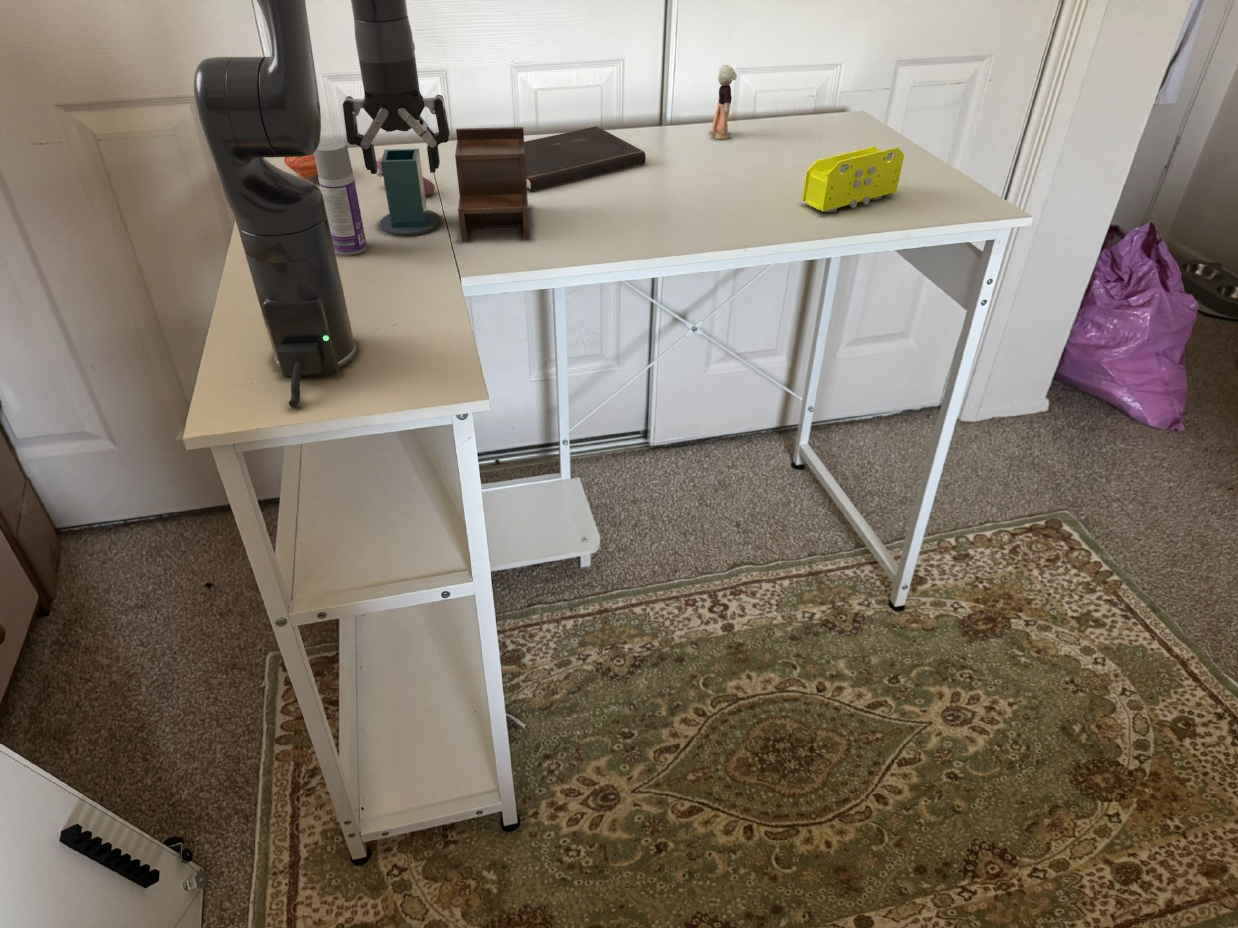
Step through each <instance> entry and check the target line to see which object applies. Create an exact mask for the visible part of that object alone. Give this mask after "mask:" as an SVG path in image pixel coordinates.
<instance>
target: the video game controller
mask: <svg viewBox="0 0 1238 928" xmlns="http://www.w3.org/2000/svg"><path fill="white" fill-rule="evenodd" d="M382 157H383V156H382ZM382 157H378V159H376V162H377V173H376V175H377V176H378V177H379V178H382V177H383V172H382V166H381V160H382ZM423 183H424V190H425V196H431V195H433V194H434V193H435V189H436V188H435V184H434V183H433V181H431V180H430V179H428V178H426V177H424V176H423Z"/></svg>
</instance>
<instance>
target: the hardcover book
mask: <svg viewBox="0 0 1238 928" xmlns="http://www.w3.org/2000/svg"><path fill="white" fill-rule="evenodd" d="M524 147H525V163H526V180H527V192H534V191H538V190H543V189H546V188H551V187H555V186H559V185H563V184H567V183H572V182H575V181H580V180H583V179H588V178H592V177H595V176H601V175H604V174H608V173H609V174H610V173H612V172H615V171H621V170H625V169H629V168H634V167H637V166H641V165H644V164H646V160H647V156H646V152H645V151H644V150H643V149H641V148H639V147H638V146H635V145H633V144H631V143H629V142H627V141H625V140H624V139H622V138H620V137H618V136H616V135H615V134H612V133H610V132H608V131H607V130H605V129H602V128H601V127H599V126H597V125H596V126H591V127H587V128H586V127H585V128H582V129H578V130H573V131H569V132H563V133H558V134H554V135H553V134H552V135H548V136H544V137H540V138H535V139H530V140H526V141H525V140H524Z"/></svg>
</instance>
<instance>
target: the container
mask: <svg viewBox="0 0 1238 928" xmlns="http://www.w3.org/2000/svg"><path fill="white" fill-rule="evenodd" d="M348 148H349V147H348V142H347V141H345V140H343V139H337V138H331V139H330V138H329V139H323V140H320V142H319V146H318V148H317V150H316V151H315V152H314V156H315V162H316V167H317V172H318V175H317V177H318V182H319V189H320V191H321V193H322V195H323V199H324V203H325V208H326V213H327V217H328V222H329V227H330V231H331V236H332V241H333V246H334V250H335V254H337V255H339V256H355V255H358V254H359V255H360V254H361V253H363V252H365V251H366V250H367V249H368V245H367V239H366V233H365V229H364V224H363V219H362V213H361V208H360V202H359V196H358V191H357V186H356V181H355V176H354V171H353V168H352V162H351V157H350V153H349V149H348Z"/></svg>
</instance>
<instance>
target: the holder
mask: <svg viewBox="0 0 1238 928" xmlns="http://www.w3.org/2000/svg"><path fill="white" fill-rule="evenodd" d="M420 155H421V154H420V148H396V149H394V148H393V149H384V150H383V154H382V160H381V166H382V172H383V176H382V177H383V183H384V189H385V195H386V200H387V206H388V212H389V213H388V214H390V219H391V225H392V228H395V227H424V226H426V220H427V214H428V212H427V210H428V206H427V199H426V195H425V190H424V183H423V177H424V175H423V170H422V163H421V156H420Z"/></svg>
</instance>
